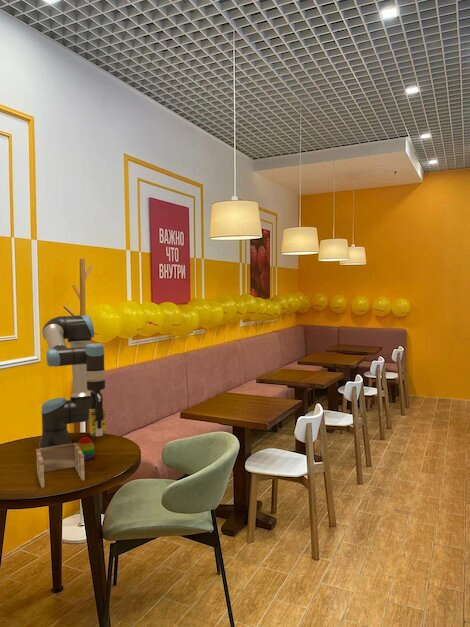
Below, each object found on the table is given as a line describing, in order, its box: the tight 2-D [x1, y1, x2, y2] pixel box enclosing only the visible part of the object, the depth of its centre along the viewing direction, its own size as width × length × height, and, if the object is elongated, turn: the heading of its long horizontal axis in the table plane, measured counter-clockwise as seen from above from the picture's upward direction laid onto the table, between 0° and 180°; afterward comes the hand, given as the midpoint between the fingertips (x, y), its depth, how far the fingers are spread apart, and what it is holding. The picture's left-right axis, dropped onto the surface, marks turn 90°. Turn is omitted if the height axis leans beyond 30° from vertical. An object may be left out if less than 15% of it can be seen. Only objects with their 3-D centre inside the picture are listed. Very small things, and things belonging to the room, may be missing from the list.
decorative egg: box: [76, 436, 95, 461], centre depth 221 cm, size 8×8×10 cm
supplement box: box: [88, 407, 107, 438], centre depth 206 cm, size 6×6×11 cm
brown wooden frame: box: [35, 442, 86, 489], centre depth 200 cm, size 19×17×10 cm
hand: (97, 433), depth 206 cm, fingers closed on supplement box, 6 cm apart
